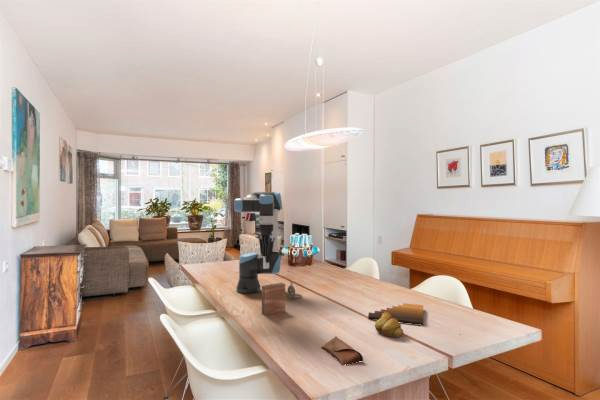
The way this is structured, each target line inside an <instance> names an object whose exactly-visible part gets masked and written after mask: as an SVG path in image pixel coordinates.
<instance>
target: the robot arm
mask: <svg viewBox="0 0 600 400" xmlns="http://www.w3.org/2000/svg"><path fill="white" fill-rule="evenodd" d="M233 210H234V211H235V213H259V214H258V215H259V217H258V219H259V220H258V221H259V222H258V223H259V225H258V229H259V230H258V231H259V232H260V235H258V237H257V238H258V243H259V250H260V255H259V253H258V252H248V253H244V254H241V255H240V256H239V260H238V264H239V265H238V267H239V268H238V270H239V272H238V276H239V278H238V281H237V283H236V293H239V294H255V293H258V292H260V291H261V284H260V280H259V278H258V277H259V275H274V274H275V275H276V274H279V273H280V272H281V266H282V258H283V257H282V255H281V254H280V251H279V250H278V235H279V234H278V231H279V230H278V226H279V225H278V224H279V223H278V220H279V219H278V217H279V216H278V215H279V214H280V213H281V210H283V203H282V196H281V193H280V192H278V191H256V192H251V193H248V194H247V195H245V196H244V198H240V197H239V198H235V199H234V200H233Z"/></svg>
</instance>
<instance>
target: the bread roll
mask: <svg viewBox="0 0 600 400" xmlns="http://www.w3.org/2000/svg"><path fill="white" fill-rule="evenodd" d="M374 328H375V330H376V331H377V332H378V333H381V334H382V335H383V336H387V337H392V336H393V338H401V337H403V335H404V330H403V329H402V324H401V323H399V321H398V320H397V319H395V318H393V317H392V315H391V314H390V313H389V312H384V313H383V314H382V317H381V318H380V319H378V320H375V324H374Z"/></svg>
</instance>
